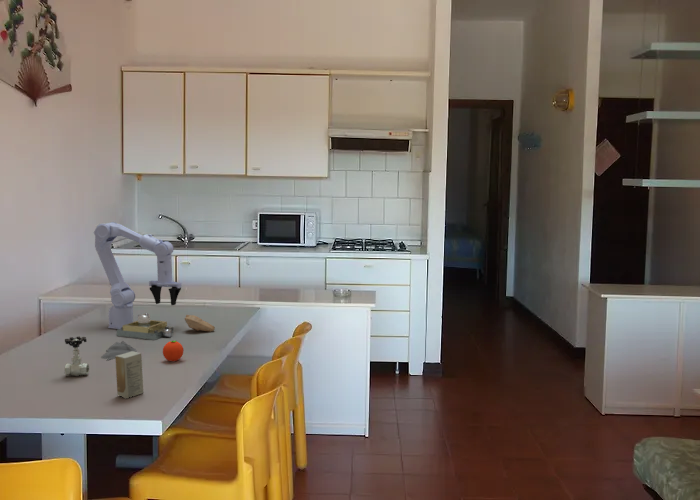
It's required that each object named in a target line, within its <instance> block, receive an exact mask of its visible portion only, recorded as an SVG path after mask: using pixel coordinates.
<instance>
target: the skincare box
mask: <svg viewBox="0 0 700 500" xmlns="http://www.w3.org/2000/svg"><path fill="white" fill-rule="evenodd" d="M142 357H143V356H142V352H138V351H137V352H134V351H131V352H128V353H124V354H121V355H117V356H115V371H116V375H115V377H116V391H117V394H116V395H117V396H118V395H119V396H122V397H124V398H123V399H126V398H127V399H130V398H132V396H133V397H135V396H139V395H141V394H144V379H143V378H144V377H143V360H142ZM119 396H118V397H119ZM122 397H121V398H122ZM129 397H130V398H129Z"/></svg>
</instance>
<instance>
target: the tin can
mask: <svg viewBox="0 0 700 500" xmlns="http://www.w3.org/2000/svg"><path fill="white" fill-rule="evenodd" d="M150 320H151V314H150V313H148V312H145V313H140V314H138V315H137V321H138V326H140V327H149V326H150Z"/></svg>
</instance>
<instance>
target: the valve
mask: <svg viewBox="0 0 700 500" xmlns="http://www.w3.org/2000/svg"><path fill="white" fill-rule="evenodd" d="M83 342H84V343H87V337H85V336H82V337H80V336H76V337H71V336H70V337H69V338H65V339H64V343H65V345H69V347H72V348H74V349H73V350H72V355H74V356H73V357H72V358H71V363H66V364H65V366H64V375H66V376H74V377H80V376H81V375H82V376H87V375H89V372H90V365H89V363H87V362H86V363H82V361H83V360H82V358H83V357H81V356H80V349H78V348H79V347H80V345H82V344H83ZM79 375H80V376H79Z"/></svg>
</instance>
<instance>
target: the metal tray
mask: <svg viewBox="0 0 700 500" xmlns="http://www.w3.org/2000/svg"><path fill="white" fill-rule="evenodd" d="M173 333H174V327H173V326H168V321H165V320H153V319H150V326H149V327H140V326H138V320H135V321H133V322H132V323H129V324H125V325H123V327H121V328H120V329H116V336H117V337H124V338H132V339H141V340H152V341H157V340H159V339H162V338H164V337H165V338H166V337H167V338H171V337H172V336H173V335H174V334H173Z"/></svg>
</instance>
